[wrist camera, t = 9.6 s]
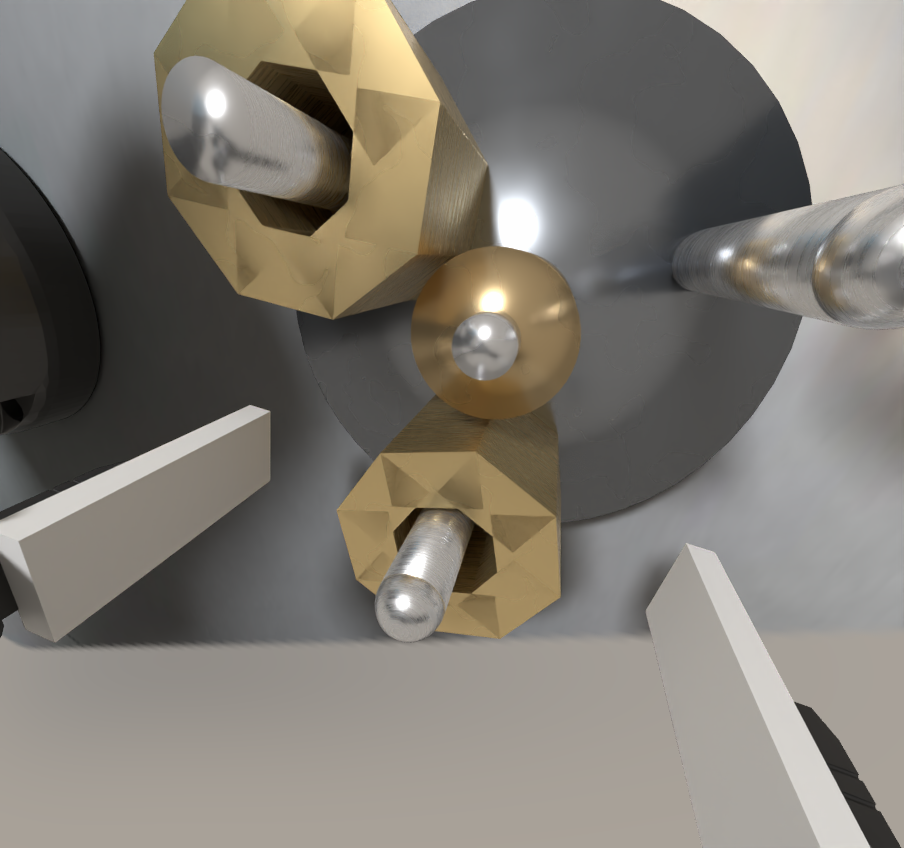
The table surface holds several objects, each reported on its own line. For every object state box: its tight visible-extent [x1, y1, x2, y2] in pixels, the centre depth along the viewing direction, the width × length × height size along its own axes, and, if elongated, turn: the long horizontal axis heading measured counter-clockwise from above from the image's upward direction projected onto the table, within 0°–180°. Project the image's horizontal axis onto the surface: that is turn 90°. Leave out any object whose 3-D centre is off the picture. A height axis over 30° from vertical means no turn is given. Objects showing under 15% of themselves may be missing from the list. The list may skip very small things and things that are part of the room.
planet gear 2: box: [337, 395, 561, 639], centre depth 13 cm, size 6×6×5 cm
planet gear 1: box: [154, 0, 488, 320], centre depth 10 cm, size 6×6×5 cm
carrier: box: [161, 0, 904, 642], centre depth 10 cm, size 16×16×9 cm
